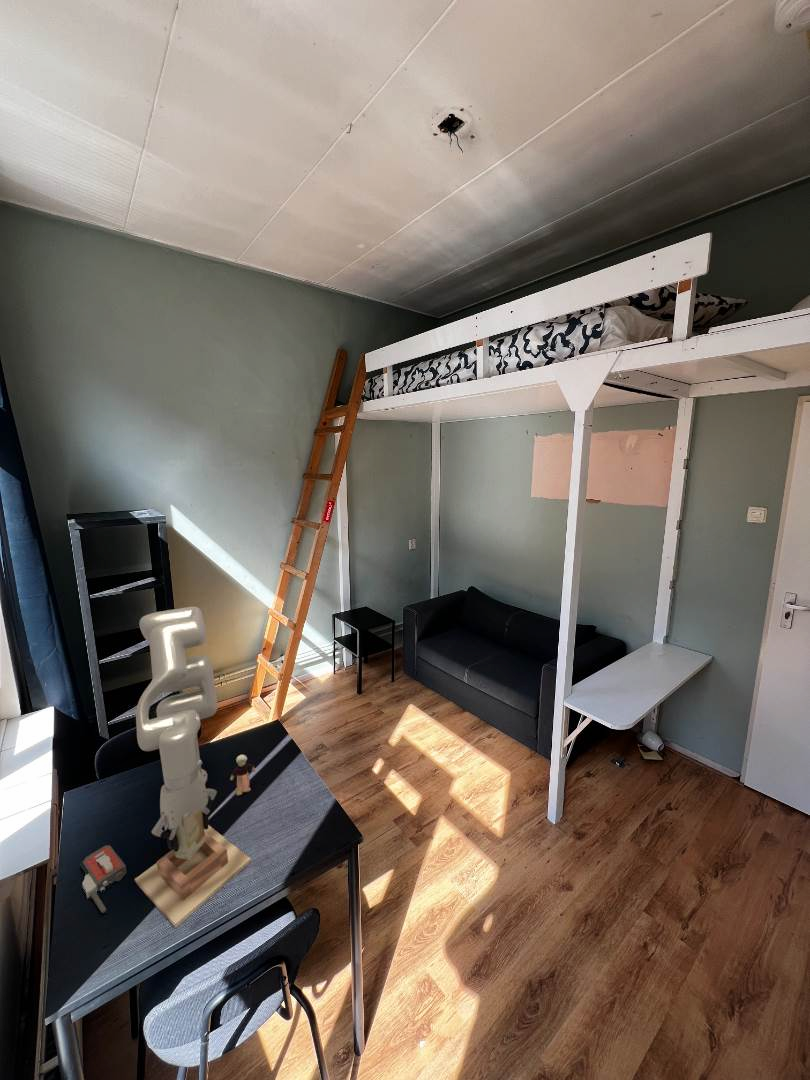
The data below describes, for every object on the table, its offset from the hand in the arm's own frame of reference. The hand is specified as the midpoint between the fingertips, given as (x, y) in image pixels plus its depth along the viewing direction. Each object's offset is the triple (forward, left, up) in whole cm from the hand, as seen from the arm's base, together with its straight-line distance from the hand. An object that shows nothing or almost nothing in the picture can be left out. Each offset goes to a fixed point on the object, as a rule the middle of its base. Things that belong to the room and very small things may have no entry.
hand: (189, 837), depth 111 cm
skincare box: (0, 0, -4) cm, 4 cm away
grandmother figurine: (-14, +25, -11) cm, 31 cm away
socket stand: (0, 0, -11) cm, 11 cm away
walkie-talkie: (-17, -14, -11) cm, 25 cm away
